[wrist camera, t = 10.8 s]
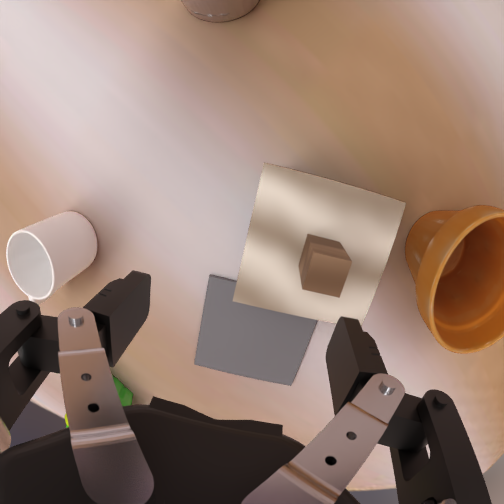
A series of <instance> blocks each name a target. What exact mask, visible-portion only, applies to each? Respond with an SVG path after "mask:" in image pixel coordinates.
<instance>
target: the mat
mask: <svg viewBox="0 0 504 504" xmlns="http://www.w3.org/2000/svg"><path fill="white" fill-rule="evenodd" d="M236 283H237V281H235V280H231V279H226V278H222V277H218V276H214V275H210V276H209V281H208V287H207V292H206V298H205V303H204V309H203V315H202V321H201V326H200V332H199V338H198V344H197V351H196V357H195V363H194V364H195V365H199V366H203V367H207V368H210V369H214V370H218V371H223V372H227V373H231V374H235V375H240V376H244V377H249V378H254V379H258V380H263V381H268V382H273V383H279V384H284V385H290V386H291V385H292V382H293V380H294V378H295V375H296V373H297V370H298V368H299V366H300V363H301V361H302V358H303V356H304V353H305V351H306V348H307V346H308V343H309V340H310V338H311V335H312V333H313V330H314V327H315V325H316V322H317V320H315V319H310V318H305V317H300V316H296V315H291V314H287V313H282V312H277V311H273V310H269V309H264V308H260V307H255V306H251V305H247V304H243V303H238V302H234V301H233V297H234V292H235V288H236Z"/></svg>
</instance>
